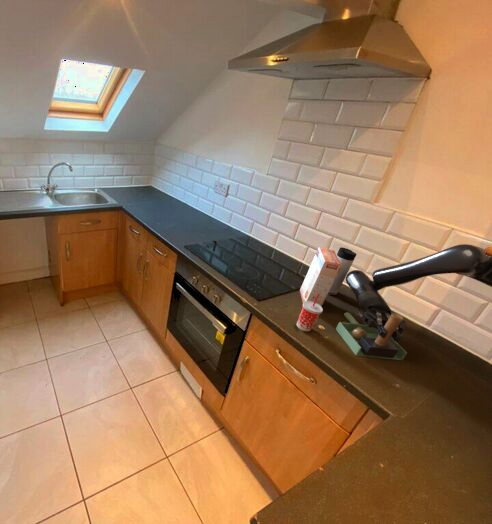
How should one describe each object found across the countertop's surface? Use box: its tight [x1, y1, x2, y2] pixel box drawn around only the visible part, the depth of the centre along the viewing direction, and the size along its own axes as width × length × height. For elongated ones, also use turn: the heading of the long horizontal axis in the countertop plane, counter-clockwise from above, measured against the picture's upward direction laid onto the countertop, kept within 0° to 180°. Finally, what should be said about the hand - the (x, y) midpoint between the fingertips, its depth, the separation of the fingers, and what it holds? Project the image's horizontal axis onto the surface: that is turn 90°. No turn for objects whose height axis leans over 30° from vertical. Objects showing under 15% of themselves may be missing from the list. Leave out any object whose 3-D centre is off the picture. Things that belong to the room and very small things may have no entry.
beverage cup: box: [296, 294, 324, 332], centre depth 102 cm, size 6×6×14 cm
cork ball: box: [352, 328, 367, 340], centre depth 101 cm, size 4×4×4 cm
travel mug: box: [327, 246, 357, 296], centre depth 124 cm, size 6×7×20 cm
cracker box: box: [299, 246, 342, 307], centre depth 115 cm, size 14×6×21 cm, turn 160°
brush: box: [358, 312, 404, 358], centre depth 93 cm, size 9×4×14 cm, turn 88°
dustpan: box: [335, 312, 408, 361], centre depth 103 cm, size 20×15×3 cm
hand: (391, 337), depth 90 cm, fingers closed on brush, 3 cm apart
